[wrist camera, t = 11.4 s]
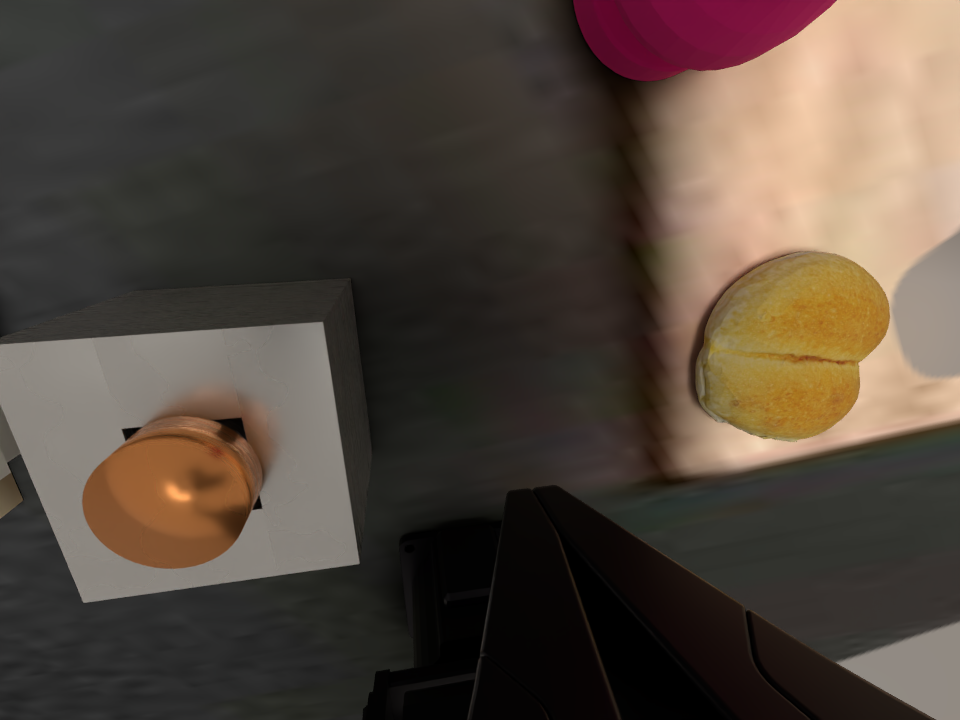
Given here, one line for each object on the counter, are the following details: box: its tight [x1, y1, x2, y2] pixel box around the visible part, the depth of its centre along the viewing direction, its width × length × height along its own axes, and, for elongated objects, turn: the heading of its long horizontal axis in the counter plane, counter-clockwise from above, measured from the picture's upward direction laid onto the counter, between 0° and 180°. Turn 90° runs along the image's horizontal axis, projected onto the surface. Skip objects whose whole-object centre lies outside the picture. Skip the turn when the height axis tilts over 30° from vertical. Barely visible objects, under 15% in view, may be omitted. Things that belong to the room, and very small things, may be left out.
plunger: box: [82, 416, 263, 569], centre depth 14 cm, size 4×4×6 cm
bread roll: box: [695, 251, 890, 442], centre depth 21 cm, size 8×9×4 cm
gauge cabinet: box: [0, 278, 372, 603], centre depth 16 cm, size 8×8×7 cm
